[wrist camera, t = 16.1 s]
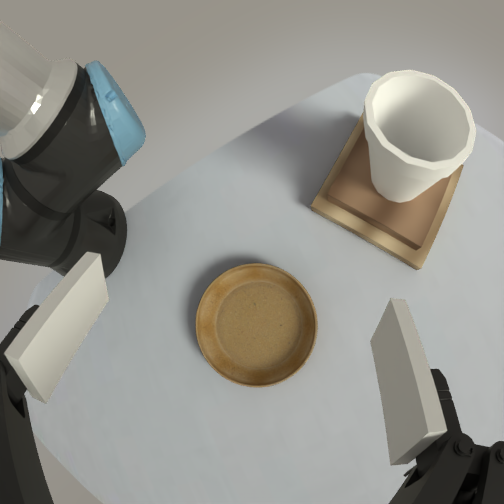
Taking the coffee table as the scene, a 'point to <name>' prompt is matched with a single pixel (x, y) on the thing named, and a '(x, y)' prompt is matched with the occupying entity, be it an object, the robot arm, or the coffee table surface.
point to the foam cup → (415, 133)
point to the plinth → (367, 228)
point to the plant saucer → (256, 325)
